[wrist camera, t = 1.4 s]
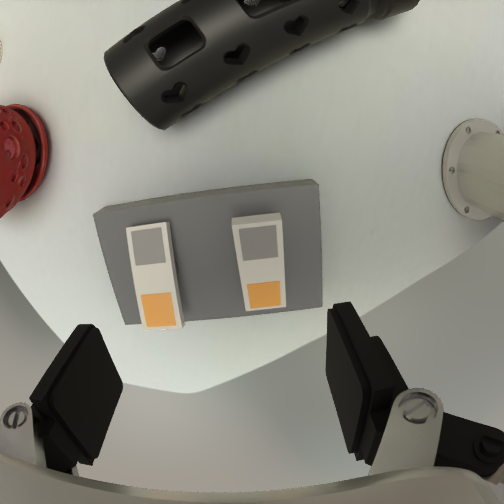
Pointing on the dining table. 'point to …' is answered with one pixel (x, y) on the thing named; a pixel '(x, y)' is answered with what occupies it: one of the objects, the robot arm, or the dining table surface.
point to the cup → (0, 51)
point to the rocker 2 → (260, 260)
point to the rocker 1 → (155, 276)
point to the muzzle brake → (223, 47)
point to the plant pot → (20, 154)
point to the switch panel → (218, 246)
